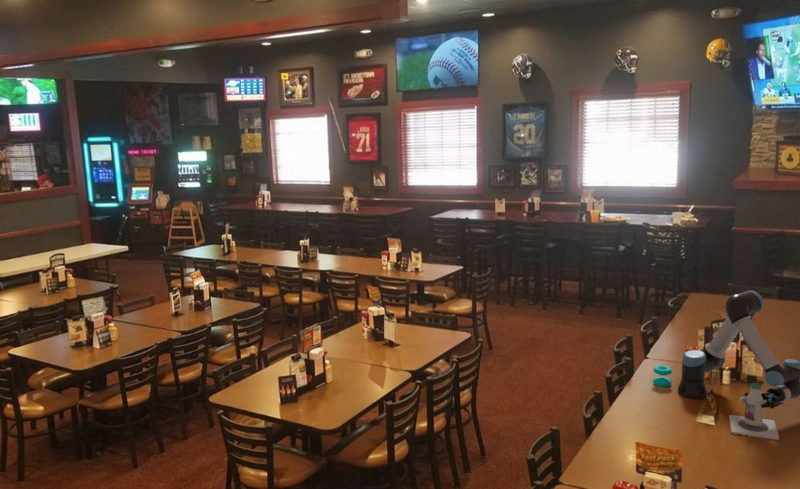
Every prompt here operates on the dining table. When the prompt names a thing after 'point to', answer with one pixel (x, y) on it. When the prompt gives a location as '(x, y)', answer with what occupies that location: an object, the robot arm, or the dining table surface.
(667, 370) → the donuts
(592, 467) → the dining table surface
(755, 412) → the milk bottle
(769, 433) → the board
